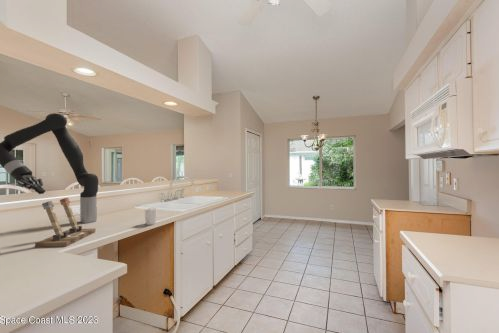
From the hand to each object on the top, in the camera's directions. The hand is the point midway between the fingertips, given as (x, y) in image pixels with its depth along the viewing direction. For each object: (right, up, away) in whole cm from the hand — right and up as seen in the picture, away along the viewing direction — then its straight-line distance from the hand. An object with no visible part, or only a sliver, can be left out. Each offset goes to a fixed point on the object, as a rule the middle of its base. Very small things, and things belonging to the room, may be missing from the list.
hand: (42, 192), depth 125 cm
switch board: (+17, -24, -4) cm, 30 cm away
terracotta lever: (+17, -20, +2) cm, 26 cm away
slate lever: (+18, -20, -10) cm, 29 cm away
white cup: (+47, -24, +28) cm, 60 cm away
